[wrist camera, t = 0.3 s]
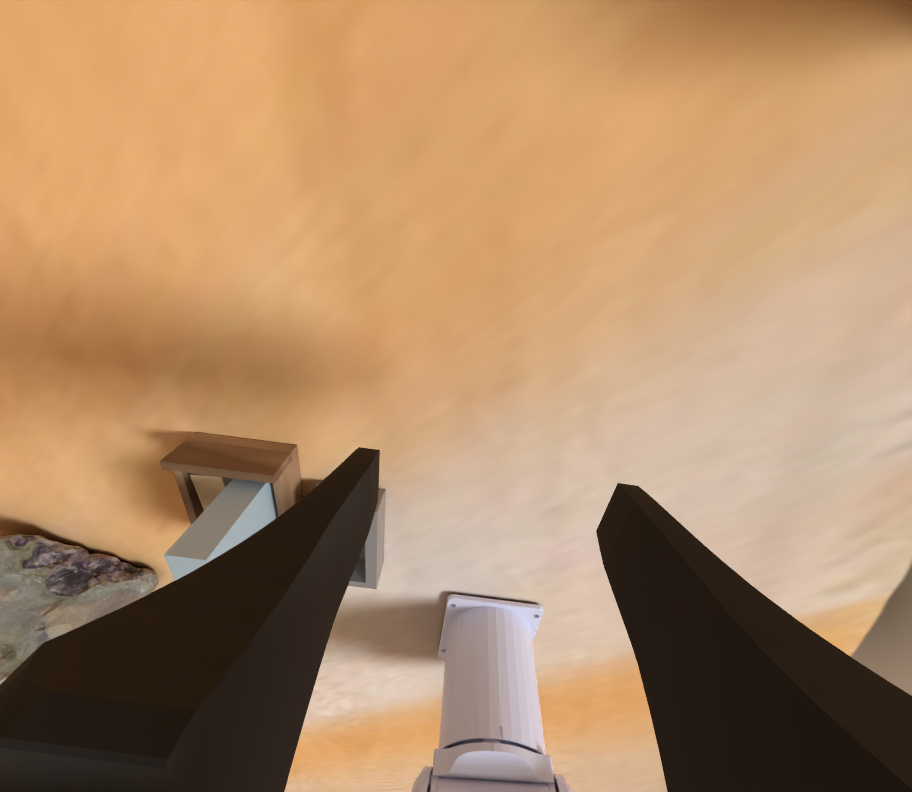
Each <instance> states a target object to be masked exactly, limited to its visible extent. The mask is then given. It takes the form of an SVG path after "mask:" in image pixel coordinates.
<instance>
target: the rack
mask: <svg viewBox="0 0 912 792" xmlns="http://www.w3.org/2000/svg"><path fill="white" fill-rule="evenodd" d="M160 463H161V466H162V469H164V470H171V471H173V472H174V475H175V478H176V481H177V484H178V487H179V489H180V492H181V495H182V498H183V501H184V504H185V507H186V510H187V513H188V516H189V519H190V522H191V525H192V524H193V523H194V521H195V520H196V519H197V518H198V517H199V516H200V515H201V514H202V513H203V511H204V509H203V507H202V504H201V502H200V499H199V497H198V494H197V492H196V489H195V487H194V484H193V482H192V479H191V477H190V474H191V473H195V474H203V475H211V476H219V477H227V478H234V479H242V480H250V481H258V482H266V483H273V488H274V494H275V500H276V505H277V511H278V516H280V515H281V514H282V513H284V512H285V511H286V510H288V509H289V508H290V507H291V506H293V505H294V504H295V503H296V502H298V501H299V500H300V499H302V498H303V493H302V484H301V476H300V468H299V459H298V451H297V445H292V444H284V443H276V442H268V441H261V440H253V439H245V438H237V437H229V436H221V435H214V434H206V433H198V432H196V433H195V434H193V435H192V436H191V437H190V438H188V439H187V440H186V441H185V442H183V443H182V444H181V445H180V446H178V447H177V448H176V449H175V450H173V451H172V452H171V453H170V454H168V455H167V456H166V457H165V458H163V459H162V460H161V461H160Z"/></svg>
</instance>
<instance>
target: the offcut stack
mask: <svg viewBox="0 0 912 792" xmlns="http://www.w3.org/2000/svg"><path fill="white" fill-rule="evenodd" d="M190 477H191V479H192V482H193V484H194V487H195V489H196V492H197V494H198V497H199V499H200V502H201V504H202V507H203V509H204V510H205V509H206V508H207V507H208V506H209V505H210V504H211V503H212V502H213V500H214V499H215V498H216V497H217V496H218V495H219V494H220V493H221V492H222V490H223V489H224V488H225V487H226V486H227V485H228V484H229V483H230V482H231V481H232V479H233V478H227V477H219V476H211V475H203V474H195V473H191V474H190Z"/></svg>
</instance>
